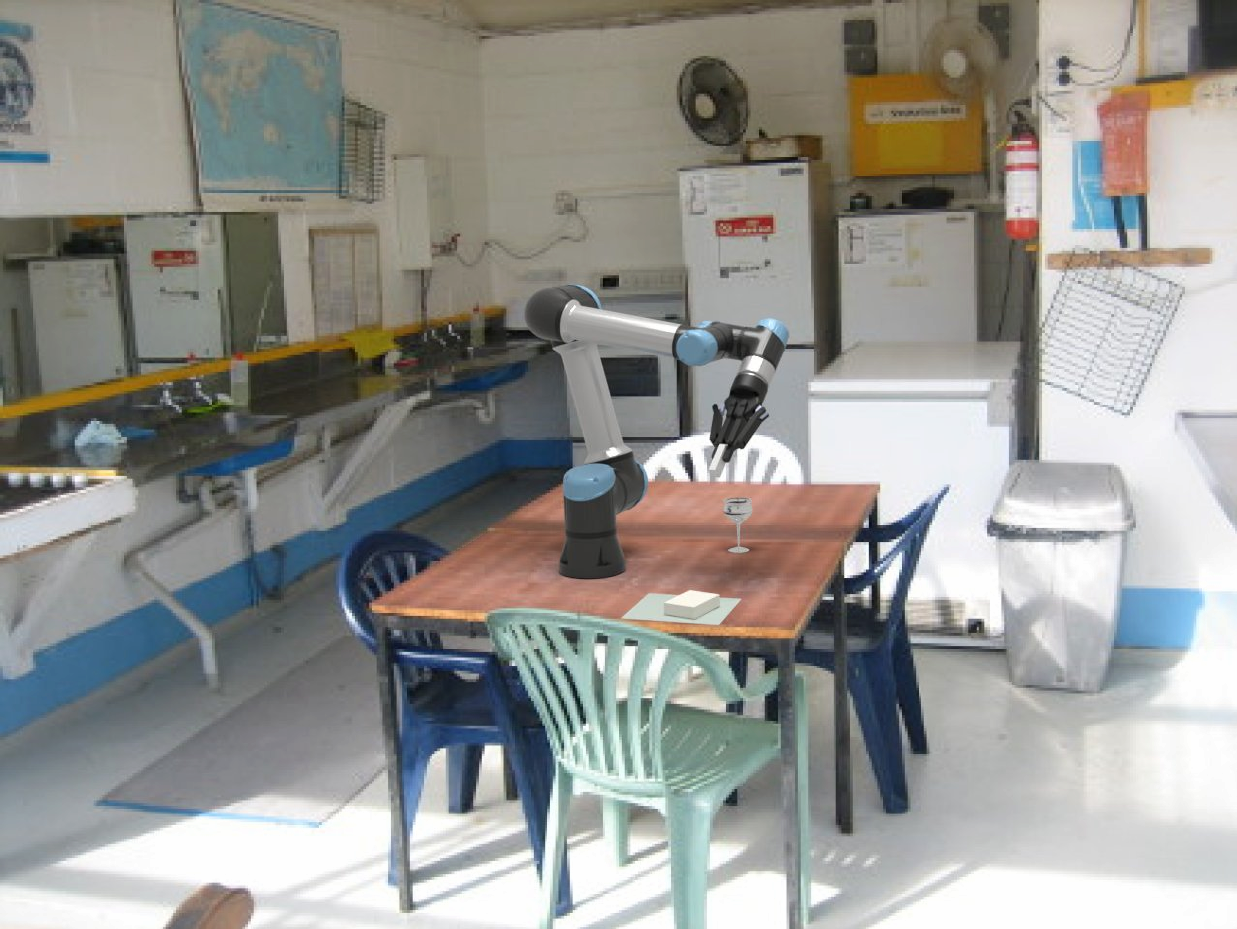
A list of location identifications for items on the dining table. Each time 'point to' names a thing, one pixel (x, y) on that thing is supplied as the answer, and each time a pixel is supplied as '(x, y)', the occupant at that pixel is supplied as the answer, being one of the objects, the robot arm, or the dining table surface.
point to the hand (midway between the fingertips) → (714, 473)
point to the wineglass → (738, 516)
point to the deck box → (691, 604)
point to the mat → (654, 611)
